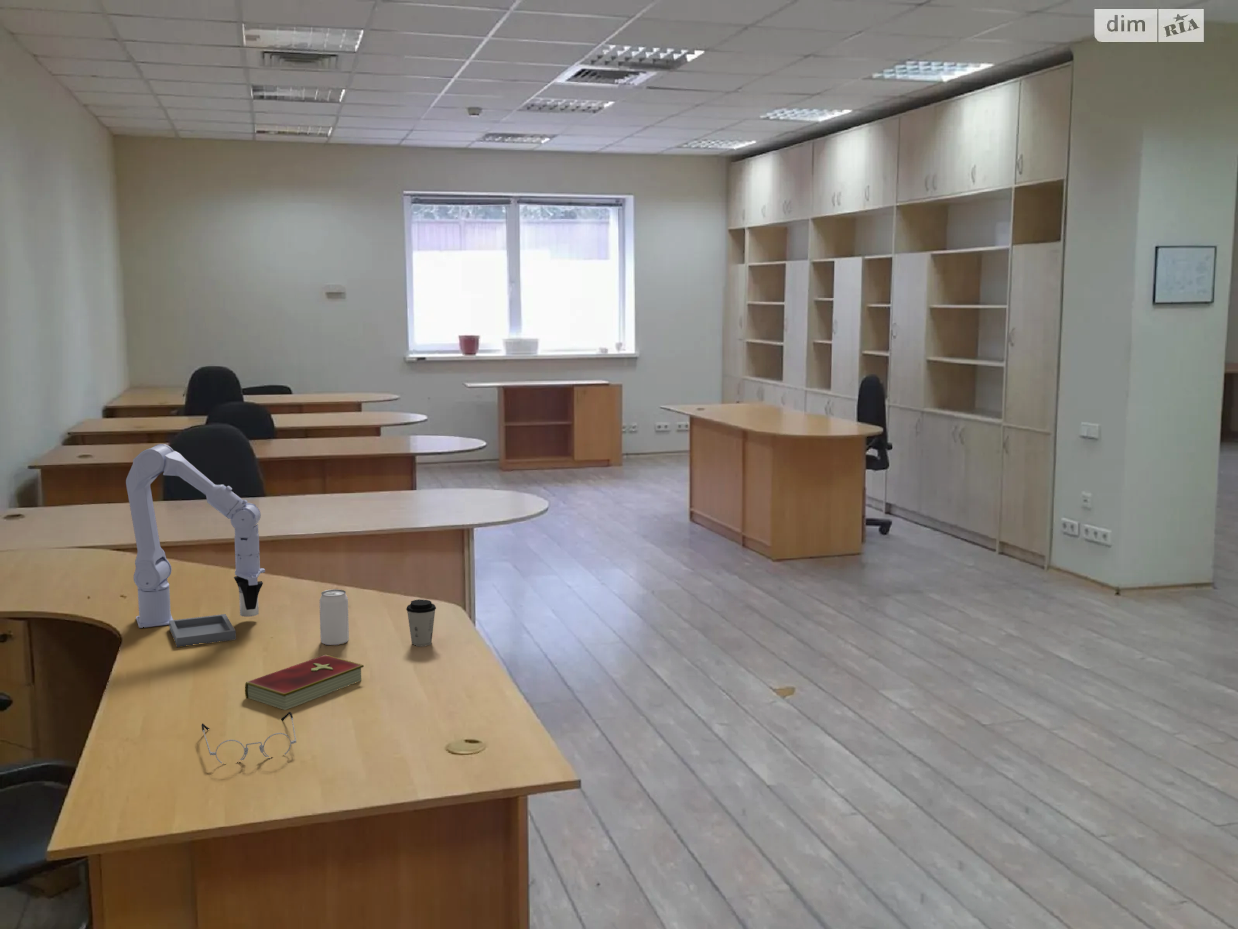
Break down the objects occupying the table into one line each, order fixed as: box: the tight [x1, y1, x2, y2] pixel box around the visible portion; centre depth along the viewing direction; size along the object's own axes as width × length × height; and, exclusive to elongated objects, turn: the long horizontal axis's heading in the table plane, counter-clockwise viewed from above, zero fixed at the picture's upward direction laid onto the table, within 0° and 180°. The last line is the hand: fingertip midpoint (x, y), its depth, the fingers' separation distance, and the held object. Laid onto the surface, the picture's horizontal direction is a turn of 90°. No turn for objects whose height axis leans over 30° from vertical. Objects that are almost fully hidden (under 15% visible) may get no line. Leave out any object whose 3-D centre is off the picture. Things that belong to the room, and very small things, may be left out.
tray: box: [168, 613, 237, 648], centre depth 259 cm, size 15×13×2 cm
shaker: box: [238, 586, 260, 618], centre depth 269 cm, size 5×5×7 cm
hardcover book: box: [244, 654, 364, 711], centre depth 224 cm, size 12×21×4 cm, turn 147°
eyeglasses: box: [201, 711, 297, 764], centre depth 197 cm, size 16×19×5 cm
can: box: [319, 588, 350, 646], centre depth 254 cm, size 6×6×12 cm
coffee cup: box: [405, 599, 437, 647], centre depth 254 cm, size 7×7×10 cm
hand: (249, 606), depth 269 cm, fingers closed on shaker, 4 cm apart
